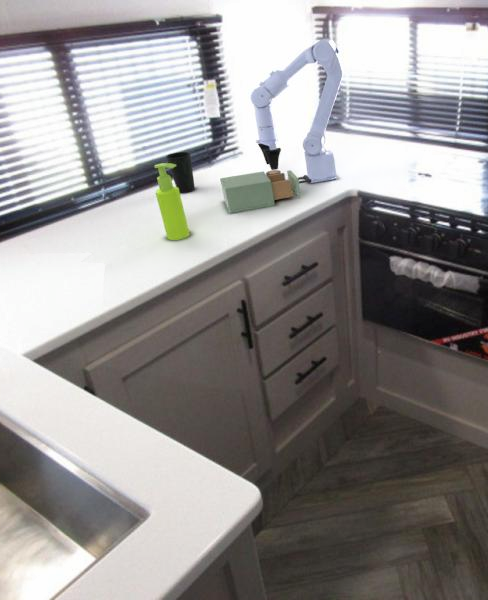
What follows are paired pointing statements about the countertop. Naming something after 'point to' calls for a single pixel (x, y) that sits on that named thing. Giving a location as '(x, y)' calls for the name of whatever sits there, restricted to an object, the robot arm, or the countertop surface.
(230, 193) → the cabinet
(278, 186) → the drawer
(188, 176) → the cup
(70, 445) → the countertop surface
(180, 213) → the soap dispenser
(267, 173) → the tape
